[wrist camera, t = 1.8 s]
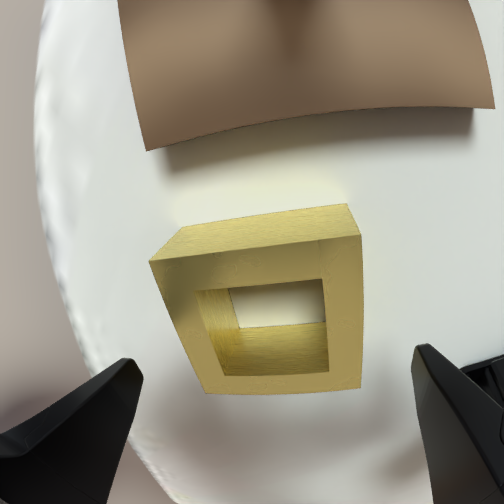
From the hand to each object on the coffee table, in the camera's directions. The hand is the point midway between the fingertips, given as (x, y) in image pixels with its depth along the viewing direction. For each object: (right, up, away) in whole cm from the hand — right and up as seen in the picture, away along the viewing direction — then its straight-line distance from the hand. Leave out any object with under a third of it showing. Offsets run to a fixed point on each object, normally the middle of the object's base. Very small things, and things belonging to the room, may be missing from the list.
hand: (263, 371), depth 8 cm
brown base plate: (+1, +13, -1) cm, 13 cm away
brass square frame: (+1, +2, +4) cm, 5 cm away
